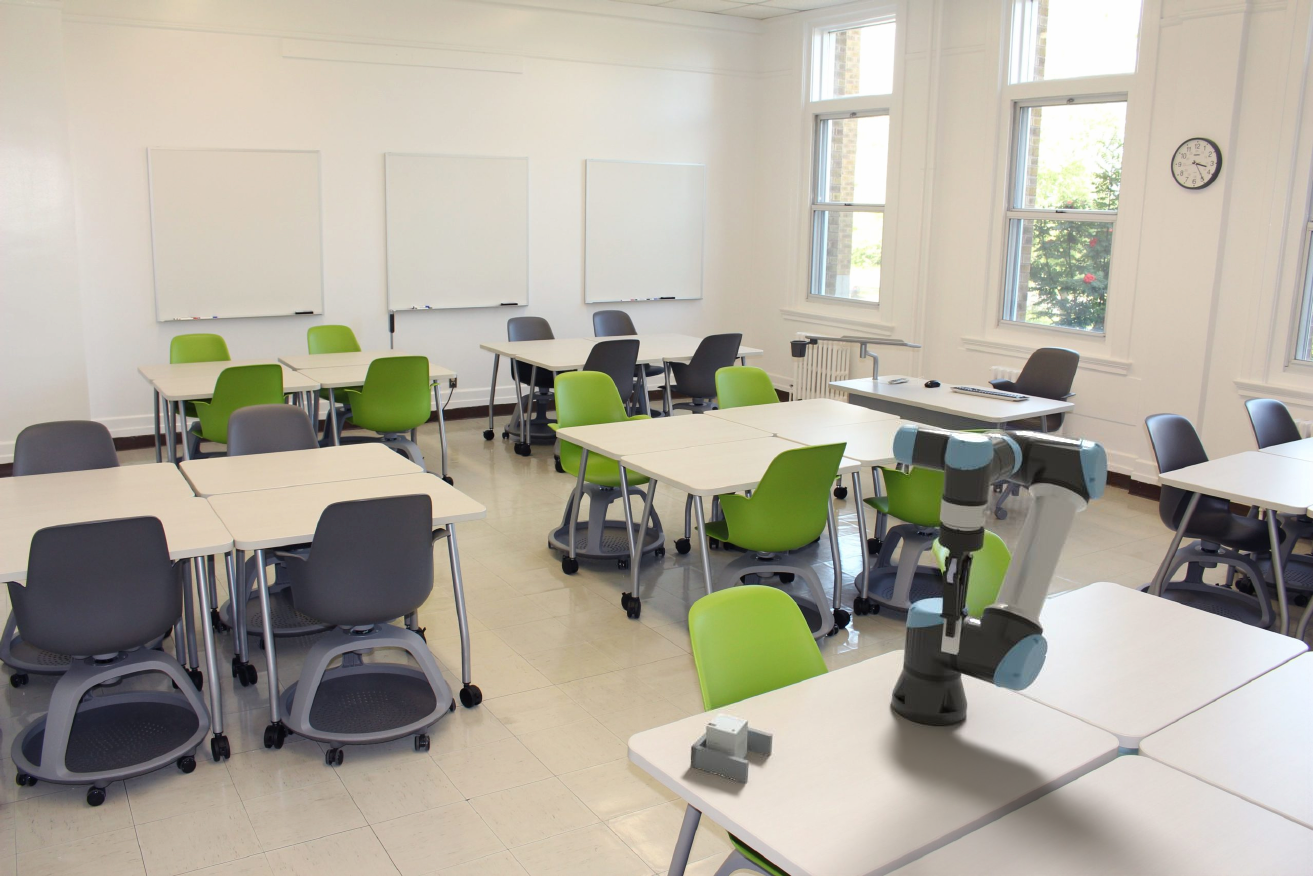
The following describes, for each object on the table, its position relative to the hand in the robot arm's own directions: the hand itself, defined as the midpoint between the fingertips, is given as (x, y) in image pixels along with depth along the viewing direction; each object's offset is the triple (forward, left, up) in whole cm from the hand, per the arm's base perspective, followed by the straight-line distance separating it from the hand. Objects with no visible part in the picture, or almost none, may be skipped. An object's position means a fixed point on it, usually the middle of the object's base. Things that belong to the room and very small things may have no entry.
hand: (949, 651), depth 179 cm
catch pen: (+15, -34, -24) cm, 44 cm away
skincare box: (+15, -36, -25) cm, 46 cm away
